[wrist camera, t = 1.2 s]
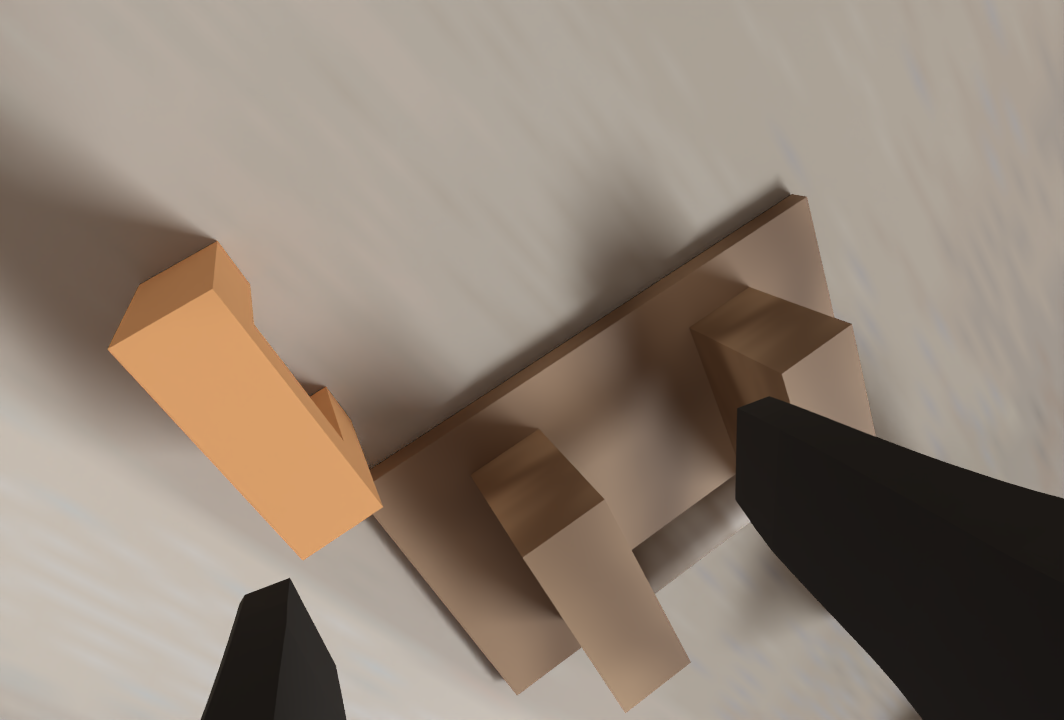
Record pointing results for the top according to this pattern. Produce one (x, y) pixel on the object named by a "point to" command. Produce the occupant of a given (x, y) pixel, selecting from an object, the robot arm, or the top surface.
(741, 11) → the top surface
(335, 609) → the top surface
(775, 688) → the top surface
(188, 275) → the orange step-cut beam
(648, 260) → the top surface
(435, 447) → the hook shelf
